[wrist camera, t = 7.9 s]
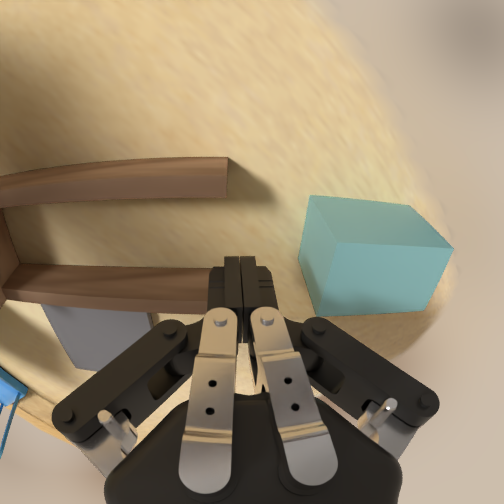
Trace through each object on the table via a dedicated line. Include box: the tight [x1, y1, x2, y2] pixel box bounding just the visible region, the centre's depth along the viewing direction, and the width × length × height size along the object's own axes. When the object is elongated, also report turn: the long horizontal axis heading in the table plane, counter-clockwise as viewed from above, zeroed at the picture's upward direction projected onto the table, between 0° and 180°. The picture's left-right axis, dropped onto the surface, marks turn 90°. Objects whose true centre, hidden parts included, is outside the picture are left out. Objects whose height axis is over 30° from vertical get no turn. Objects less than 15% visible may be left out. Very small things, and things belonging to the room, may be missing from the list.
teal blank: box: [298, 195, 454, 317], centre depth 18 cm, size 5×8×6 cm, turn 86°
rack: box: [0, 157, 228, 314], centre depth 16 cm, size 9×20×6 cm, turn 87°
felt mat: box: [41, 304, 154, 372], centre depth 25 cm, size 11×11×1 cm
